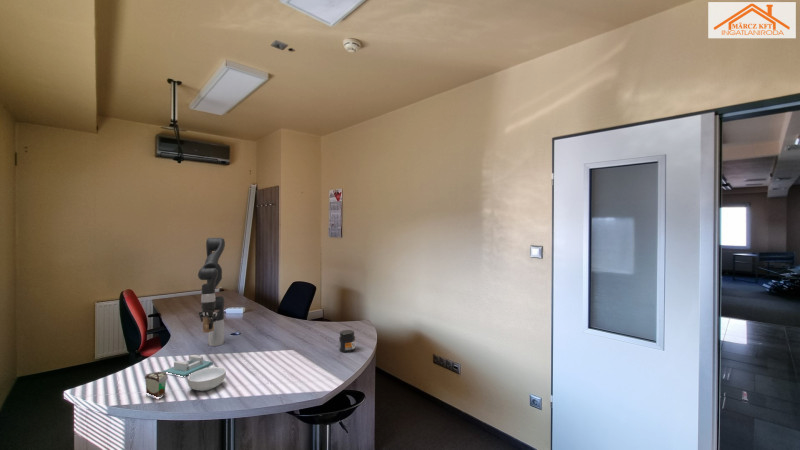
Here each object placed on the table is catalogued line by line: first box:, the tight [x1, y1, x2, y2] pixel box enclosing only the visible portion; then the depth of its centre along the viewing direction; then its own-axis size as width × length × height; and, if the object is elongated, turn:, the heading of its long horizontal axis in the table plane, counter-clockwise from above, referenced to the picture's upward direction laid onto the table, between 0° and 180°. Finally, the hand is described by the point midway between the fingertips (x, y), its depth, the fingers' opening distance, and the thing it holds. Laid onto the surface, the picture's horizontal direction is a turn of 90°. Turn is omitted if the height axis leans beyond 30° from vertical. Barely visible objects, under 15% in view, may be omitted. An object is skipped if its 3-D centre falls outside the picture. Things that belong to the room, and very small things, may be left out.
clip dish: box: [162, 354, 214, 378], centre depth 186 cm, size 16×18×6 cm
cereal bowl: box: [187, 366, 227, 392], centre depth 164 cm, size 17×17×7 cm
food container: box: [144, 371, 169, 397], centre depth 157 cm, size 12×6×10 cm, turn 65°
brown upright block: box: [202, 316, 214, 334], centre depth 198 cm, size 3×5×10 cm, turn 162°
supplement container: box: [338, 329, 356, 354], centre depth 213 cm, size 10×10×12 cm
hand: (208, 328), depth 198 cm, fingers closed on brown upright block, 3 cm apart
